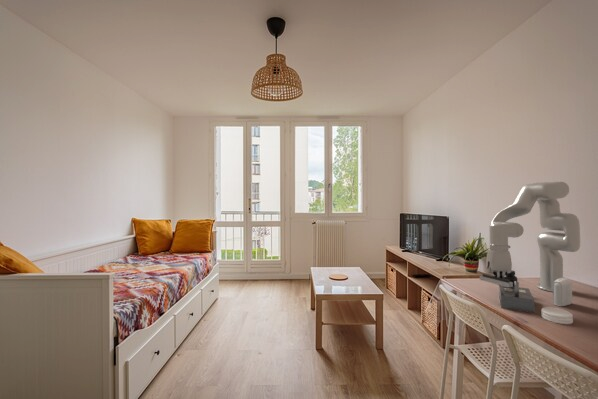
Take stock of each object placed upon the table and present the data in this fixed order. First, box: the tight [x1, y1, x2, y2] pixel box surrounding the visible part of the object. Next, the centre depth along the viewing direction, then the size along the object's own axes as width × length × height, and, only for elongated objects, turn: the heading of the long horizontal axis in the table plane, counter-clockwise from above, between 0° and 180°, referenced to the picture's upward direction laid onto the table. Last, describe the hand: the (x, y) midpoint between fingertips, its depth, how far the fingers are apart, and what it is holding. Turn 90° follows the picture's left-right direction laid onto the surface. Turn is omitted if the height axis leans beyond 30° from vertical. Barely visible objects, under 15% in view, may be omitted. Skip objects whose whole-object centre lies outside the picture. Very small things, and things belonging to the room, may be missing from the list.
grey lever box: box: [498, 281, 535, 314], centre depth 137 cm, size 18×12×12 cm, turn 147°
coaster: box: [540, 306, 574, 325], centre depth 120 cm, size 10×10×4 cm
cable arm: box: [479, 273, 513, 287], centre depth 140 cm, size 14×3×3 cm, turn 23°
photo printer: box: [552, 277, 573, 307], centre depth 136 cm, size 10×4×12 cm, turn 115°
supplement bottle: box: [504, 269, 519, 287], centre depth 153 cm, size 7×7×12 cm
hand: (499, 284), depth 142 cm, fingers closed
